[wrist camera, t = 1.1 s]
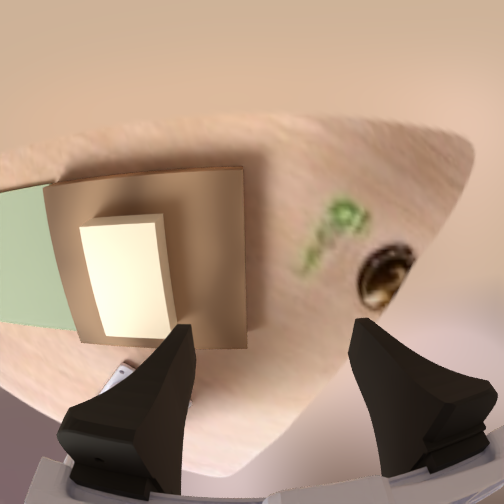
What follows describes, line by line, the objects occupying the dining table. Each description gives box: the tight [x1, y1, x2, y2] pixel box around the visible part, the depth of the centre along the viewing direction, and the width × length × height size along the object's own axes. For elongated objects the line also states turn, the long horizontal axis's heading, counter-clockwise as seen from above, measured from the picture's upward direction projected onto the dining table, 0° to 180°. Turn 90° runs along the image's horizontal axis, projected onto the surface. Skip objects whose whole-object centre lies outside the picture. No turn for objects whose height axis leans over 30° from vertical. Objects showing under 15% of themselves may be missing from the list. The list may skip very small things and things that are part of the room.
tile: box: [79, 213, 177, 339], centre depth 19 cm, size 5×8×2 cm, turn 1°
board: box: [42, 166, 247, 349], centre depth 21 cm, size 14×13×2 cm
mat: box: [0, 183, 77, 331], centre depth 21 cm, size 14×13×1 cm
